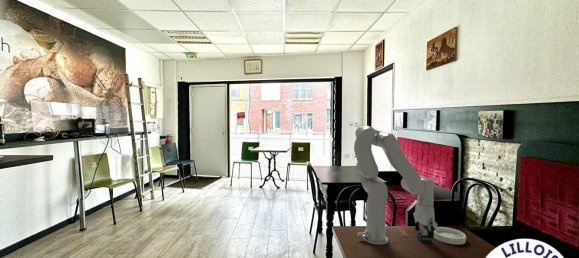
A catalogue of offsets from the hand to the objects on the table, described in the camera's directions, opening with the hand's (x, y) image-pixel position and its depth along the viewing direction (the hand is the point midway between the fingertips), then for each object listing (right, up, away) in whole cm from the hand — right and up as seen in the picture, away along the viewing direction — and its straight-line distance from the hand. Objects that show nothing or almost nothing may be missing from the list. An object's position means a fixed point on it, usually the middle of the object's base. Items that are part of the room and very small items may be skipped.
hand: (424, 234), depth 144 cm
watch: (0, -3, 0) cm, 3 cm away
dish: (+15, -3, +3) cm, 15 cm away
